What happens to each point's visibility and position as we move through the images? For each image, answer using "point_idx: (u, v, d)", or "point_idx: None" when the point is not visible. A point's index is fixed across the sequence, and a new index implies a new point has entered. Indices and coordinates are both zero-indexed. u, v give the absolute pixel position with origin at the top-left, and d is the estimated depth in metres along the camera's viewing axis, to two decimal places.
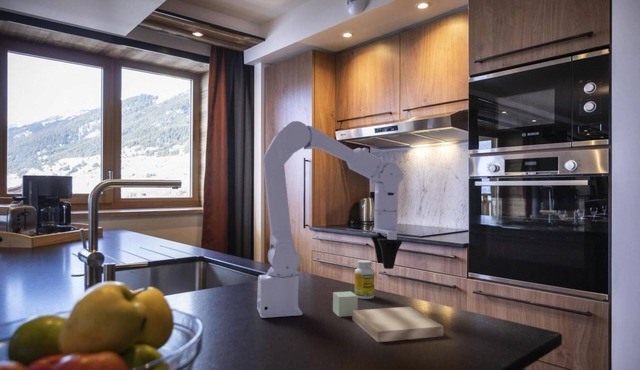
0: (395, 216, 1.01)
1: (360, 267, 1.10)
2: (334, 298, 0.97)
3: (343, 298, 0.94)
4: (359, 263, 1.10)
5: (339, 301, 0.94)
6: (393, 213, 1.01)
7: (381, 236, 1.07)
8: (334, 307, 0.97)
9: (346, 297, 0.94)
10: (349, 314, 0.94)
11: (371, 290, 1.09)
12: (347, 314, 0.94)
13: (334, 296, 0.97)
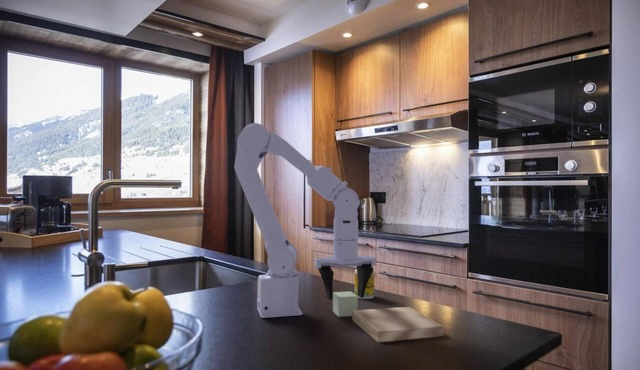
0: (339, 245, 0.94)
1: None
2: (334, 298, 0.97)
3: (343, 298, 0.94)
4: None
5: (339, 301, 0.94)
6: (337, 242, 0.95)
7: (360, 267, 0.98)
8: (334, 307, 0.97)
9: (346, 297, 0.94)
10: (349, 314, 0.94)
11: (371, 290, 1.09)
12: (347, 314, 0.94)
13: (334, 296, 0.97)
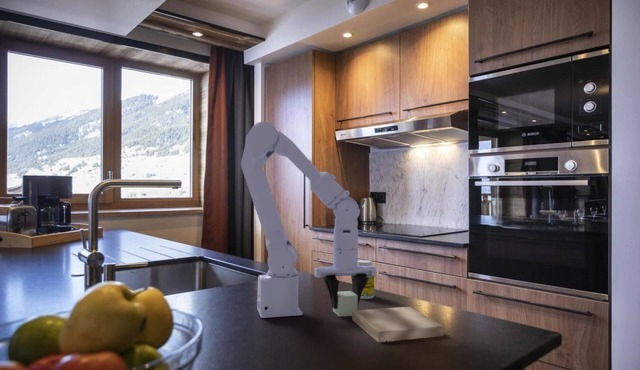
0: (339, 255, 0.94)
1: None
2: None
3: (343, 298, 0.94)
4: (359, 263, 1.10)
5: (339, 300, 0.94)
6: (337, 251, 0.95)
7: (354, 276, 0.97)
8: None
9: (346, 297, 0.94)
10: (349, 314, 0.94)
11: (371, 290, 1.09)
12: (347, 314, 0.94)
13: None
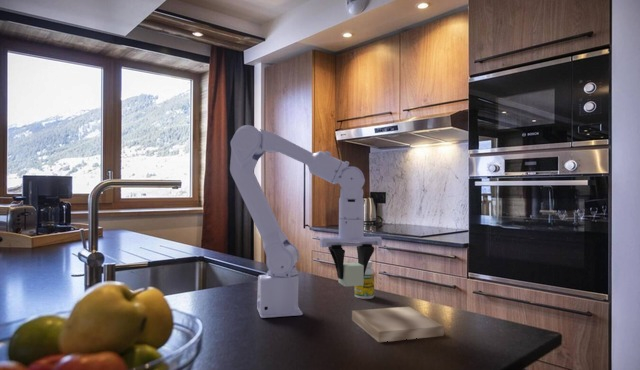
0: (345, 224, 0.93)
1: None
2: None
3: (349, 267, 0.93)
4: None
5: (345, 270, 0.93)
6: (342, 221, 0.94)
7: (360, 247, 0.96)
8: None
9: (352, 266, 0.93)
10: (355, 284, 0.93)
11: (371, 290, 1.09)
12: (353, 284, 0.93)
13: None
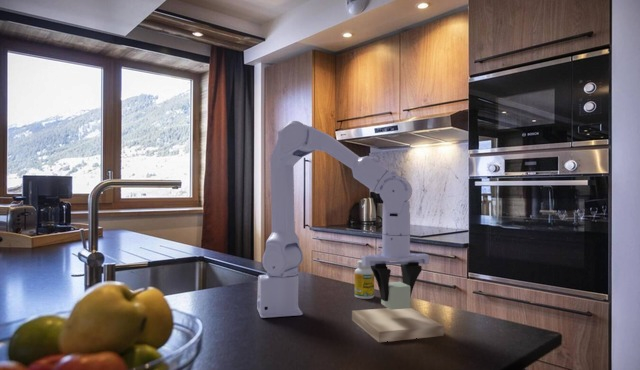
0: (390, 241, 0.84)
1: (360, 267, 1.10)
2: None
3: (395, 288, 0.84)
4: (359, 263, 1.10)
5: (390, 291, 0.84)
6: (387, 237, 0.85)
7: (406, 266, 0.88)
8: None
9: (398, 287, 0.84)
10: (401, 306, 0.85)
11: (371, 290, 1.09)
12: (399, 306, 0.84)
13: None
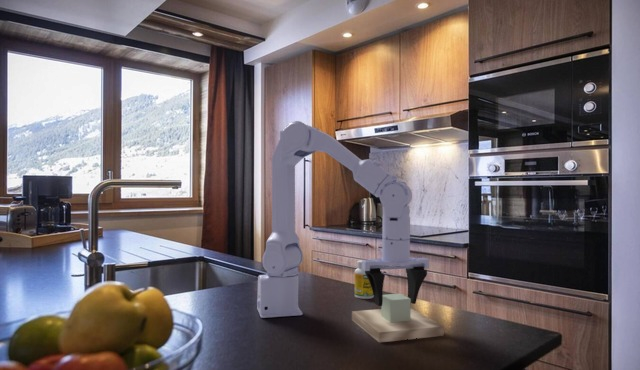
0: (390, 246, 0.84)
1: (360, 267, 1.10)
2: (383, 301, 0.87)
3: (395, 301, 0.84)
4: (359, 263, 1.10)
5: (390, 304, 0.84)
6: (387, 242, 0.85)
7: (411, 270, 0.88)
8: (383, 311, 0.87)
9: (398, 300, 0.84)
10: (402, 319, 0.84)
11: (371, 290, 1.09)
12: (399, 319, 0.84)
13: (383, 299, 0.87)
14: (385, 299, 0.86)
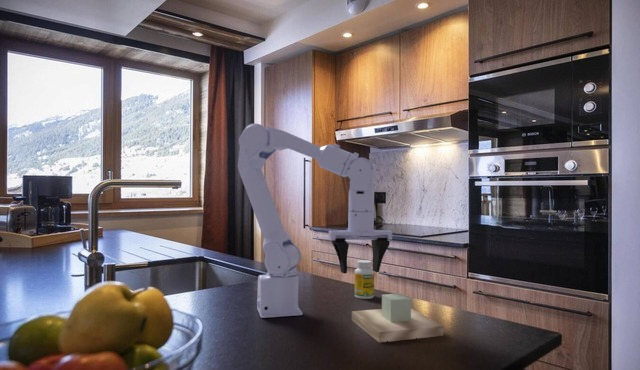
0: (355, 217, 0.91)
1: (360, 267, 1.10)
2: (384, 301, 0.87)
3: (395, 301, 0.84)
4: (359, 263, 1.10)
5: (391, 304, 0.84)
6: (352, 213, 0.91)
7: (375, 241, 0.94)
8: (384, 311, 0.87)
9: (399, 300, 0.84)
10: (402, 319, 0.84)
11: (371, 290, 1.09)
12: (400, 319, 0.84)
13: (384, 298, 0.87)
14: (385, 299, 0.86)
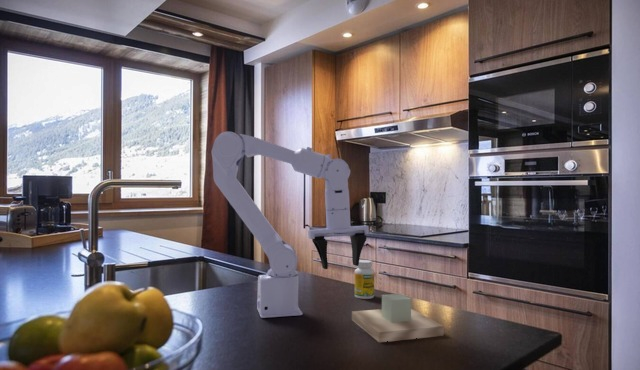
0: (331, 215, 0.96)
1: (360, 267, 1.10)
2: (384, 301, 0.87)
3: (396, 301, 0.84)
4: (359, 263, 1.10)
5: (391, 304, 0.84)
6: (329, 212, 0.96)
7: (353, 236, 0.99)
8: (384, 311, 0.87)
9: (399, 300, 0.84)
10: (402, 319, 0.84)
11: (371, 290, 1.09)
12: (400, 319, 0.84)
13: (384, 299, 0.87)
14: (386, 299, 0.86)
